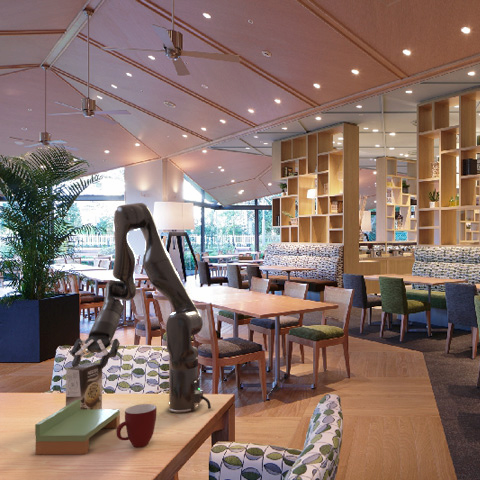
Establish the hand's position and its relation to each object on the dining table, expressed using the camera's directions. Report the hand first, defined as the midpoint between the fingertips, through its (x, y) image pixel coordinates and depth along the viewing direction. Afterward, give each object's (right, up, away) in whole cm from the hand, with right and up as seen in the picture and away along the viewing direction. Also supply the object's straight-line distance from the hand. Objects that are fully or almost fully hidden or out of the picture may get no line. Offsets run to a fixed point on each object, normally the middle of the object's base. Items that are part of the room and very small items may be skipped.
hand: (87, 367), depth 160 cm
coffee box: (0, -15, -2) cm, 15 cm away
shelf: (+9, -15, -20) cm, 27 cm away
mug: (+28, -15, -25) cm, 40 cm away
